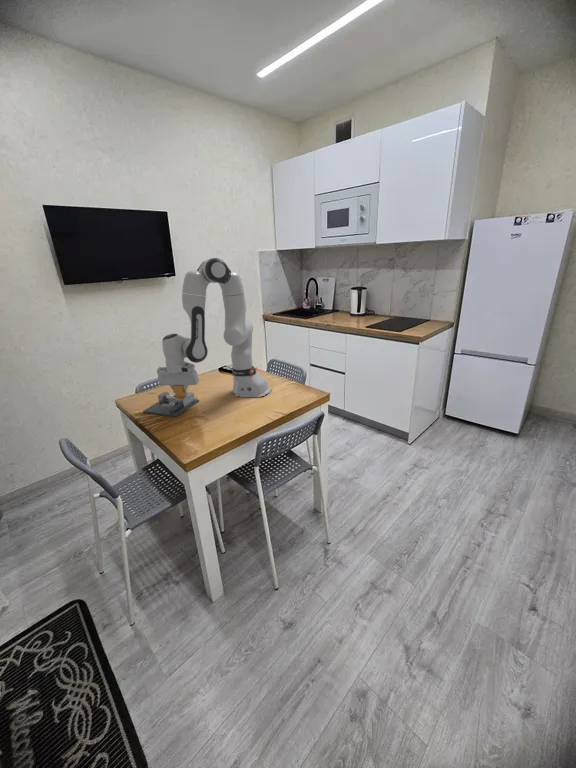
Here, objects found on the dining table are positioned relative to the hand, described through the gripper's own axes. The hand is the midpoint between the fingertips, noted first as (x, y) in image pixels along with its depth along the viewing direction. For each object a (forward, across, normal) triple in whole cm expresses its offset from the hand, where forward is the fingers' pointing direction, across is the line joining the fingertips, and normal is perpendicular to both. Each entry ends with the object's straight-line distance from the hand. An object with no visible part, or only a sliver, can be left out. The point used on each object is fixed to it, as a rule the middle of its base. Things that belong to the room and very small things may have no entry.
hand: (180, 392), depth 162 cm
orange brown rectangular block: (+4, 0, 0) cm, 4 cm away
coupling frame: (+7, -5, -3) cm, 9 cm away
